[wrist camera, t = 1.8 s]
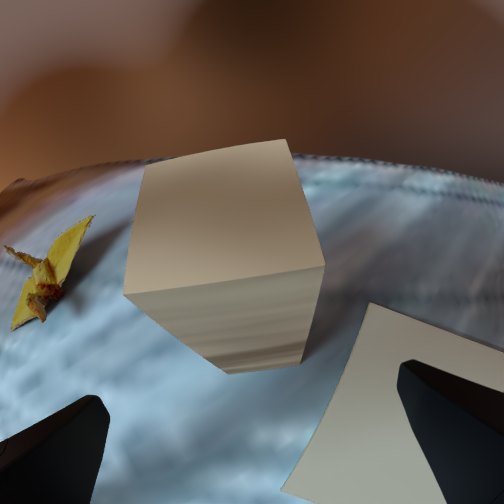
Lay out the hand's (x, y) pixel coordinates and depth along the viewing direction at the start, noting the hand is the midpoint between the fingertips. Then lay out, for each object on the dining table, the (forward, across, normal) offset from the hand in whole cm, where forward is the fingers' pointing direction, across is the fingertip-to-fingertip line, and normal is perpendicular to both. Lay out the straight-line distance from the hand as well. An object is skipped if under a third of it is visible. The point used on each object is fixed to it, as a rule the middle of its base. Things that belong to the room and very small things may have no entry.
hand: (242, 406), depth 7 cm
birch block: (+12, 0, +5) cm, 13 cm away
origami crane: (+17, +21, 0) cm, 27 cm away
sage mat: (+5, -10, +11) cm, 16 cm away
